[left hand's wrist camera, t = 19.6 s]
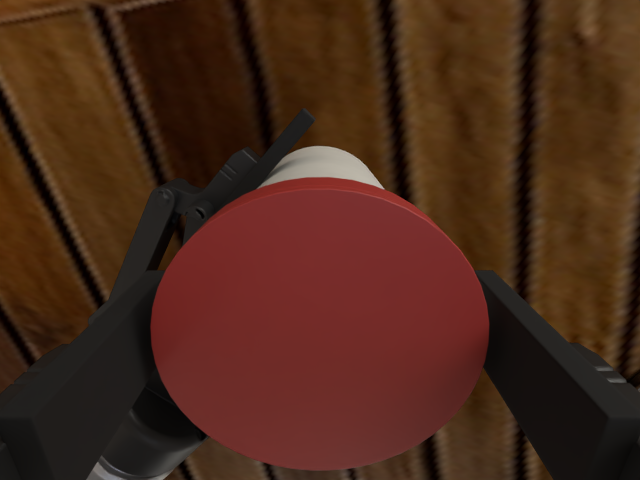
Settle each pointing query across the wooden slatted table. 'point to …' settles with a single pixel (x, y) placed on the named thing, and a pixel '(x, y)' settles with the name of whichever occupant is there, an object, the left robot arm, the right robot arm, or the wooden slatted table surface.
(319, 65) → the wooden slatted table surface
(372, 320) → the lid
